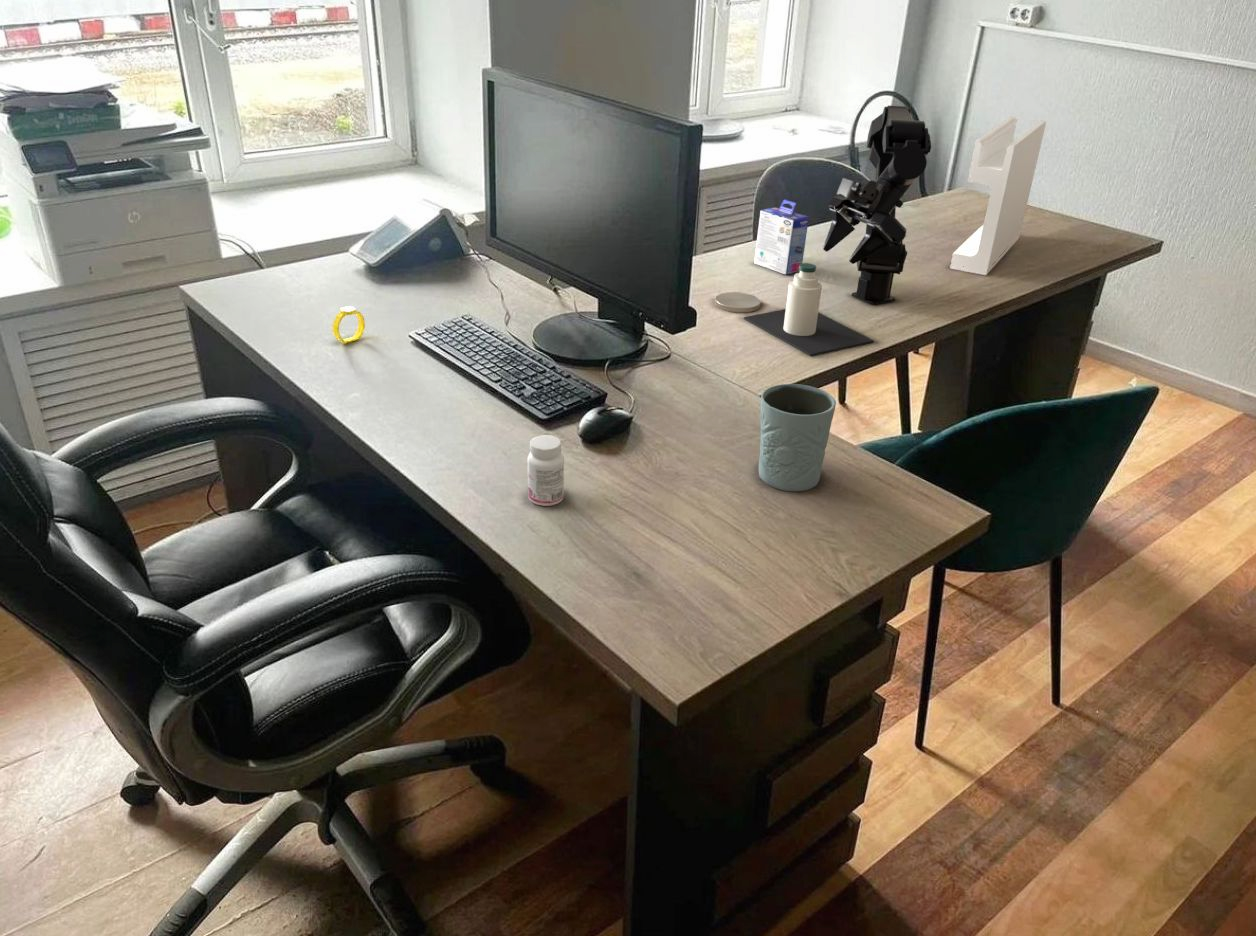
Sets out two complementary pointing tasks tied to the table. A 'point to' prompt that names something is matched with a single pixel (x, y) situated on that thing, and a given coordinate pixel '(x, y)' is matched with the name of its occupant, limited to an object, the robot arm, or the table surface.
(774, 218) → the ink cartridge box
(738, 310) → the off-white round coaster
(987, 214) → the white stand
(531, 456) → the pill bottle
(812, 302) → the bottle
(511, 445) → the table surface
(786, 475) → the light blue embossed cup
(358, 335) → the yellow ring
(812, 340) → the felt mat
